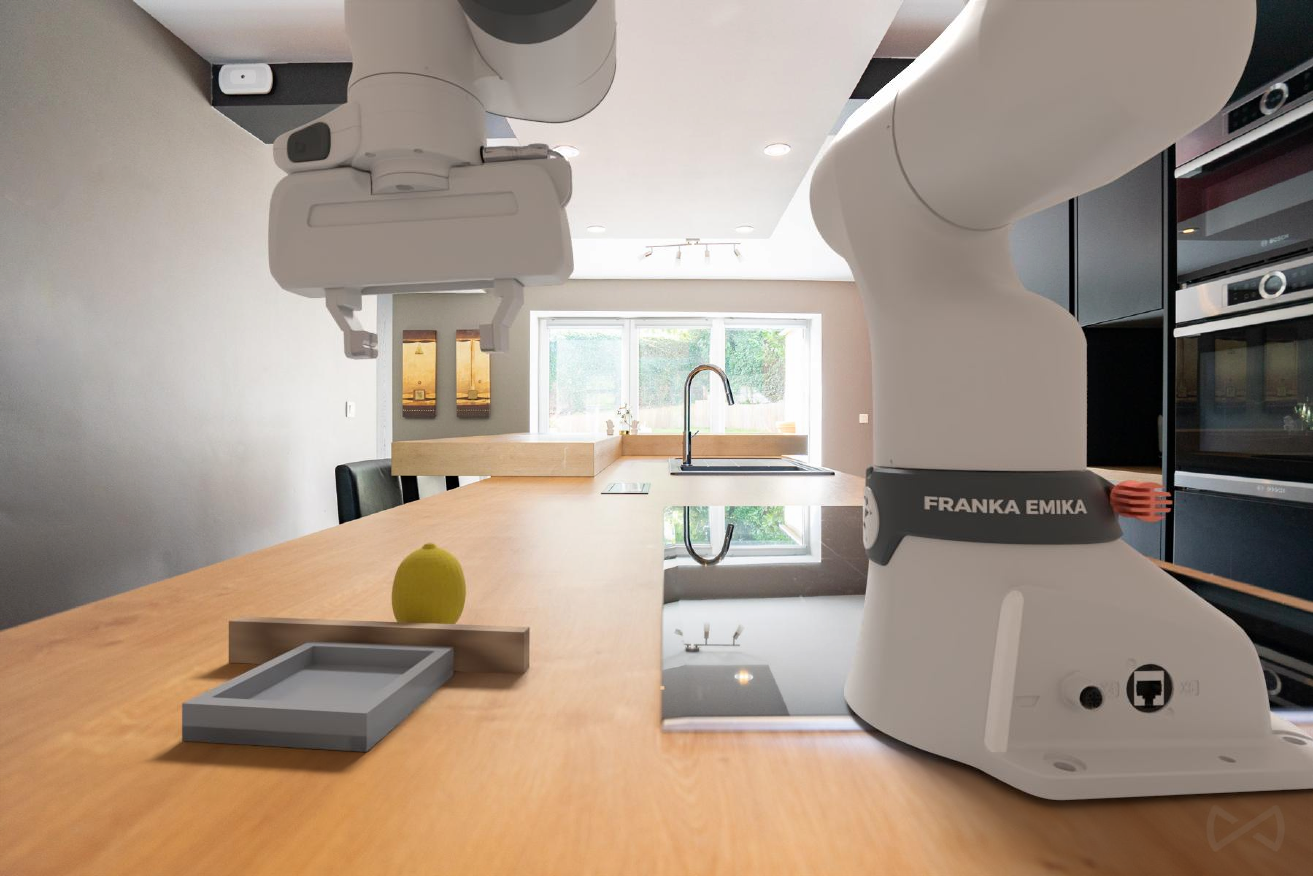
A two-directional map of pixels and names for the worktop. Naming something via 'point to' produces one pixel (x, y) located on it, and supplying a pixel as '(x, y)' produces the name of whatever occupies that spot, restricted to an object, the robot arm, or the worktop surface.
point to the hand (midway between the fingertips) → (427, 355)
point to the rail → (383, 640)
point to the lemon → (429, 587)
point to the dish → (320, 696)
